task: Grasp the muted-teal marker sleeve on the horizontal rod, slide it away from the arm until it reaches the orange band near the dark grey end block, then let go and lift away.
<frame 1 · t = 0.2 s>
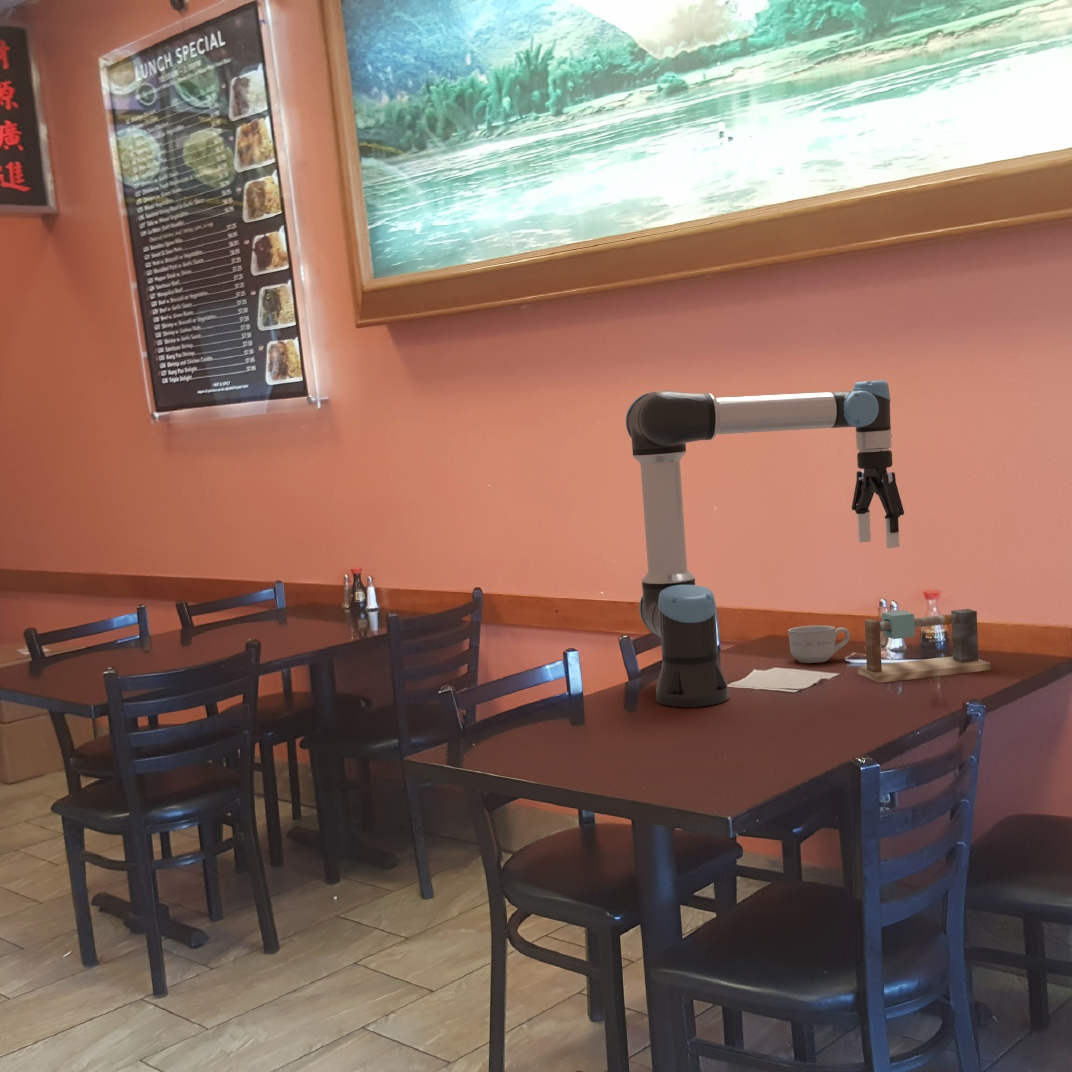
hand: (878, 544, 269), 27 cm above the table, fingers open, 13 cm apart
rod stand: (923, 671, 262), on the table
teacup: (820, 661, 280), on the table
sleeve: (898, 624, 260), point 11 cm above the table, slide at 0.0 cm
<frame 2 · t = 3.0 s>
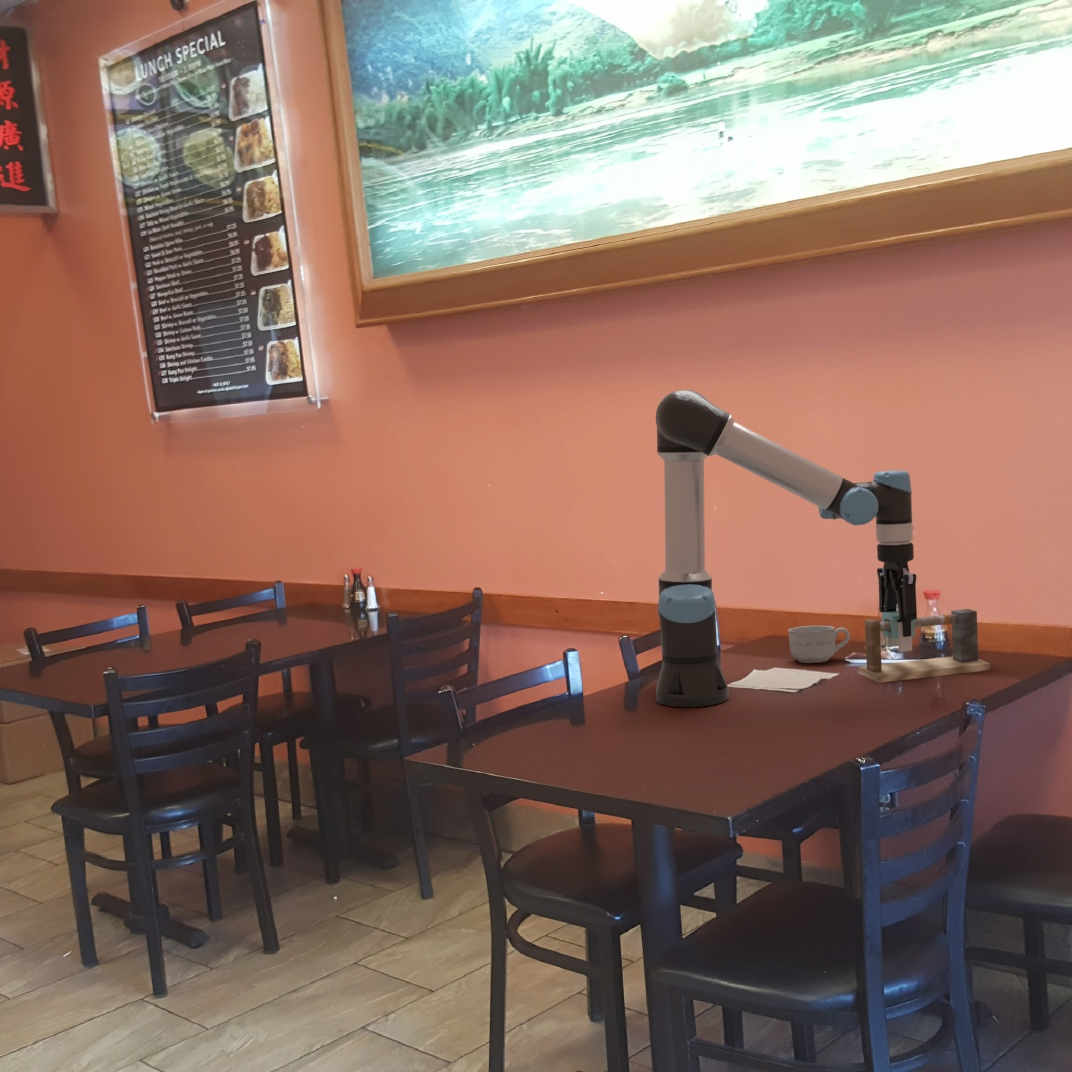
hand: (899, 648, 260), 6 cm above the table, fingers closed on sleeve, 5 cm apart
sleeve: (898, 624, 260), point 11 cm above the table, slide at 0.0 cm, touching gripper
everything else where it was.
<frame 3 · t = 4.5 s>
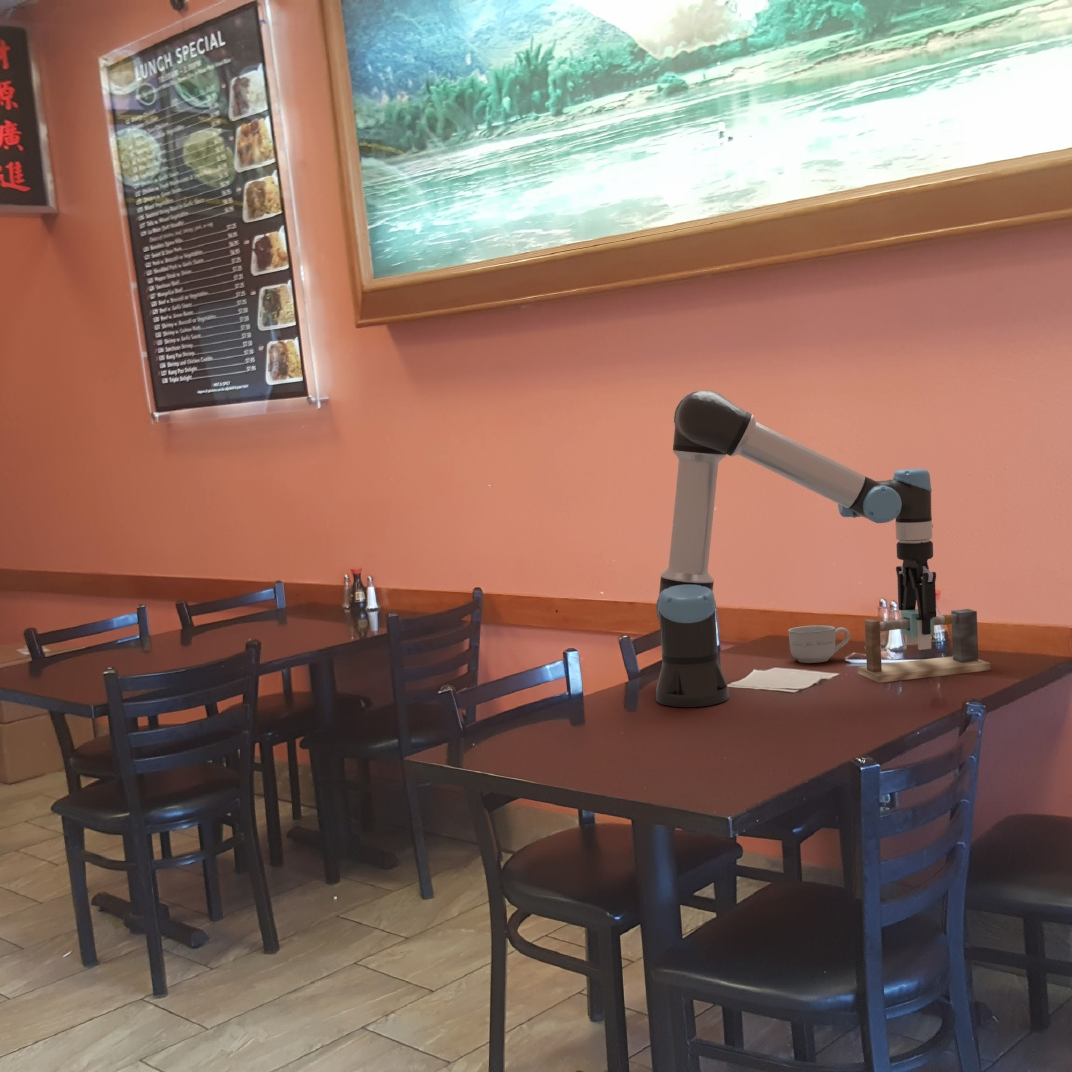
hand: (918, 646, 261), 6 cm above the table, fingers closed on sleeve, 5 cm apart
sleeve: (917, 622, 260), point 11 cm above the table, slide at 4.5 cm, touching gripper
everything else where it was.
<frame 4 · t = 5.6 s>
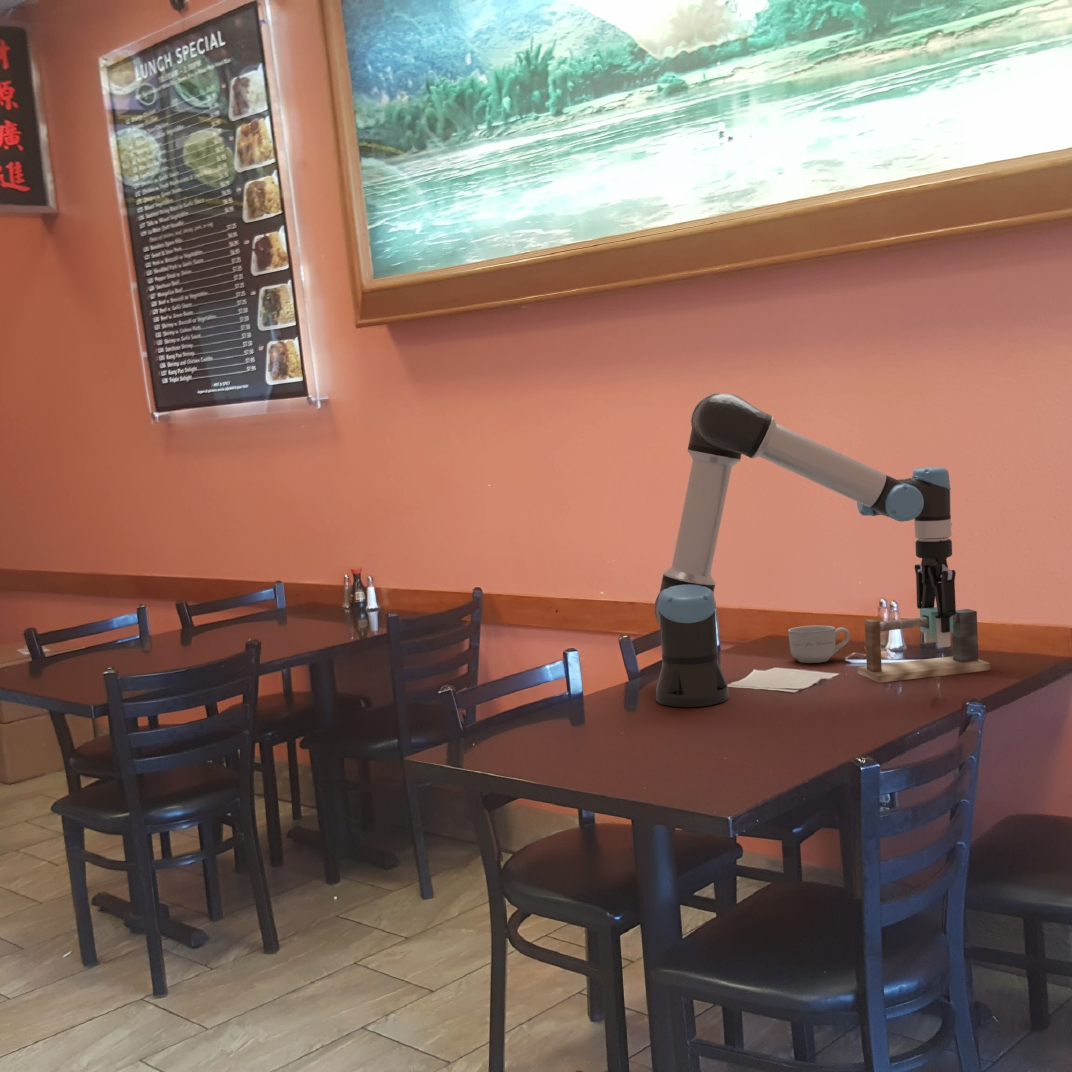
hand: (937, 644, 262), 6 cm above the table, fingers closed on sleeve, 5 cm apart
sleeve: (936, 620, 261), point 11 cm above the table, slide at 8.9 cm, touching gripper
everything else where it was.
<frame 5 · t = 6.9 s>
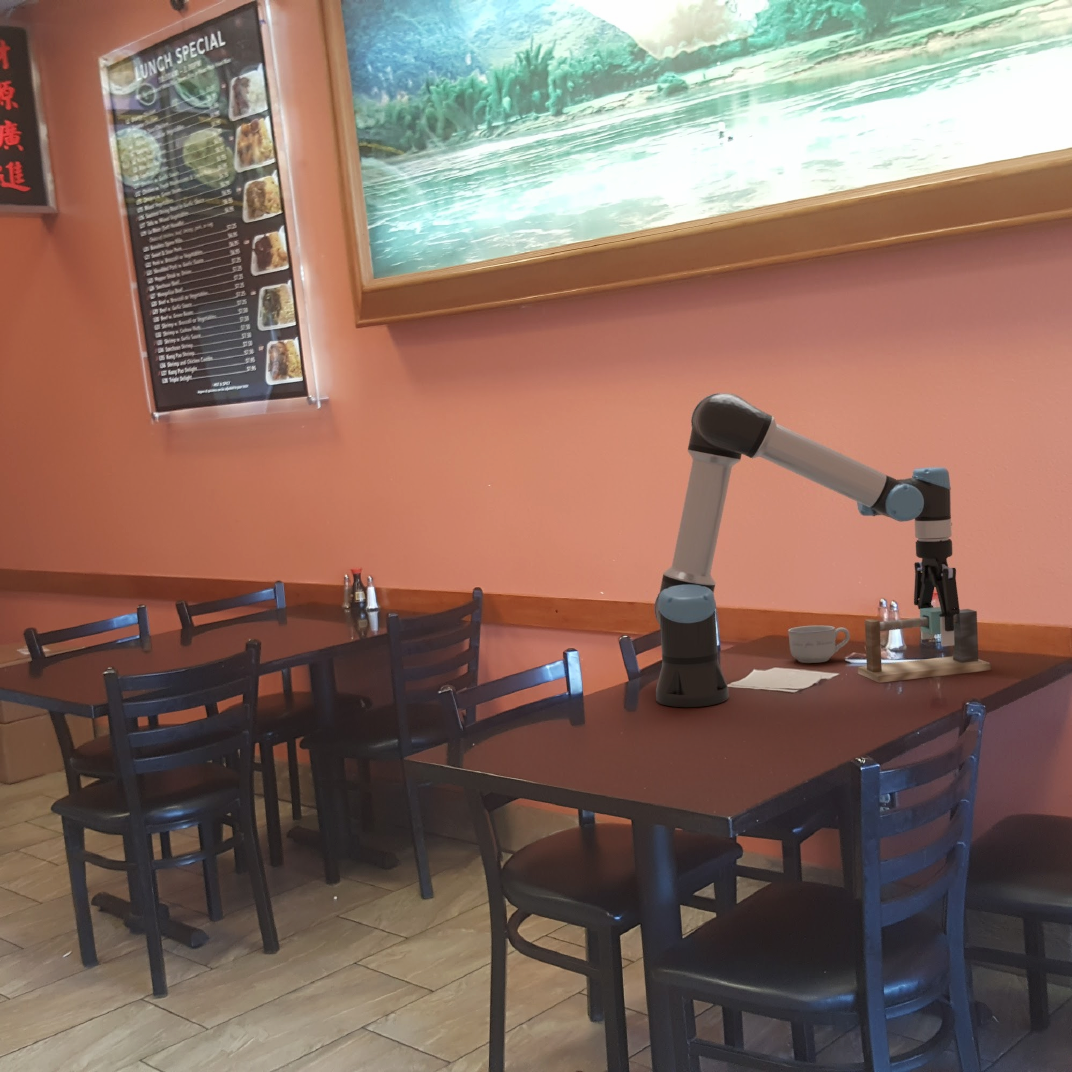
hand: (937, 642, 262), 6 cm above the table, fingers open, 8 cm apart
sleeve: (936, 620, 261), point 11 cm above the table, slide at 9.0 cm
everything else where it was.
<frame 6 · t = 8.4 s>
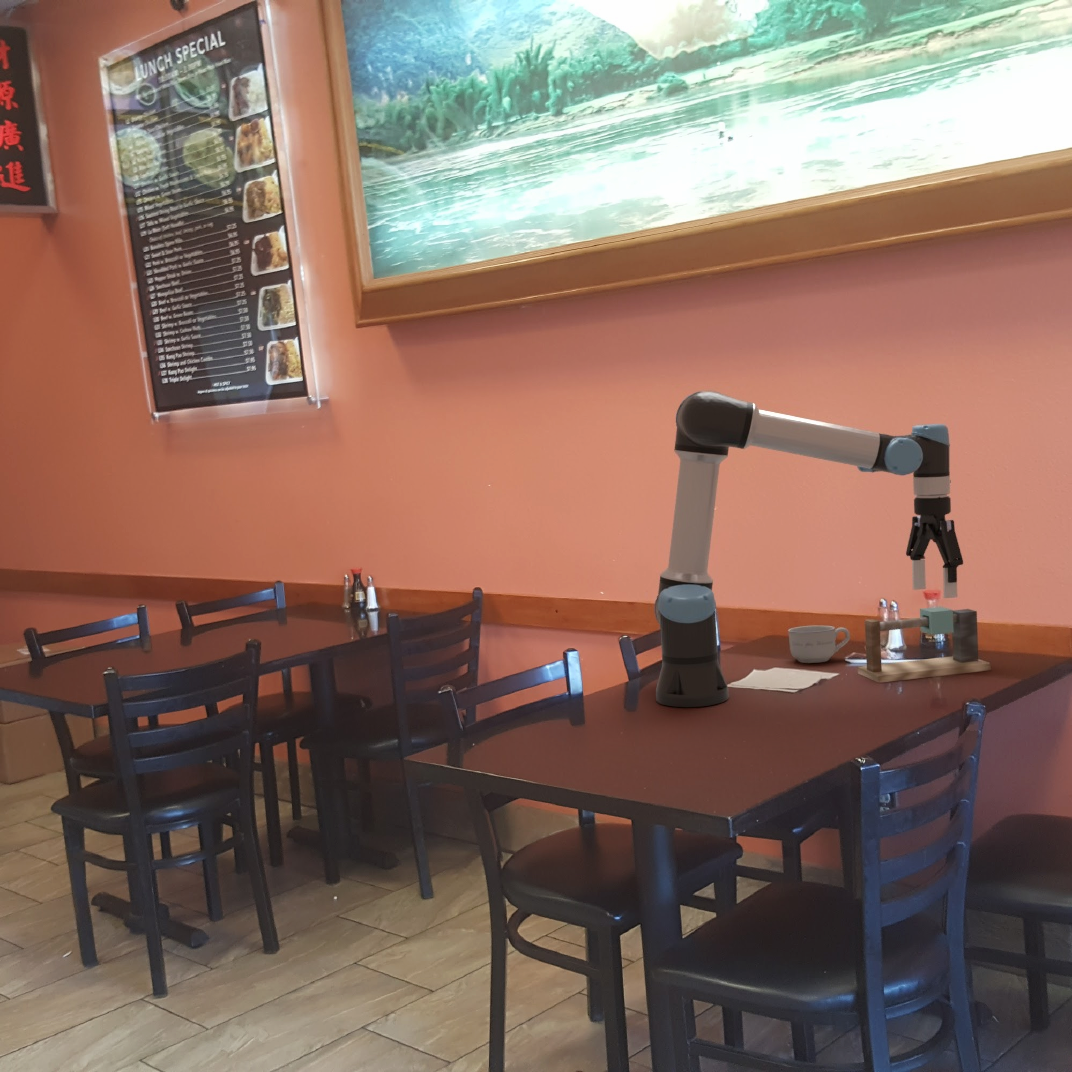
hand: (934, 593, 261), 17 cm above the table, fingers open, 13 cm apart
nothing on the table moved.
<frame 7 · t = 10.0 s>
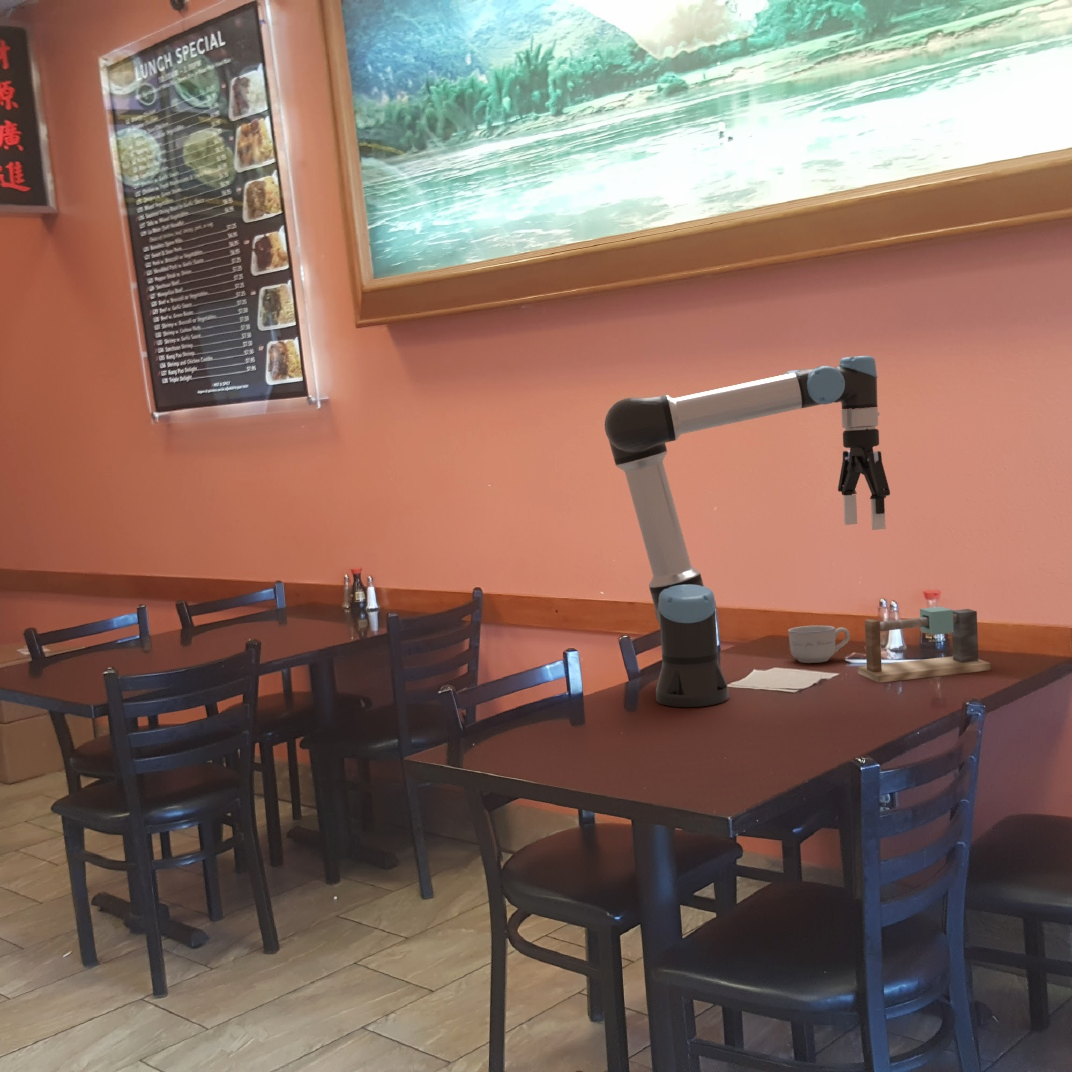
hand: (864, 526, 260), 33 cm above the table, fingers open, 13 cm apart
nothing on the table moved.
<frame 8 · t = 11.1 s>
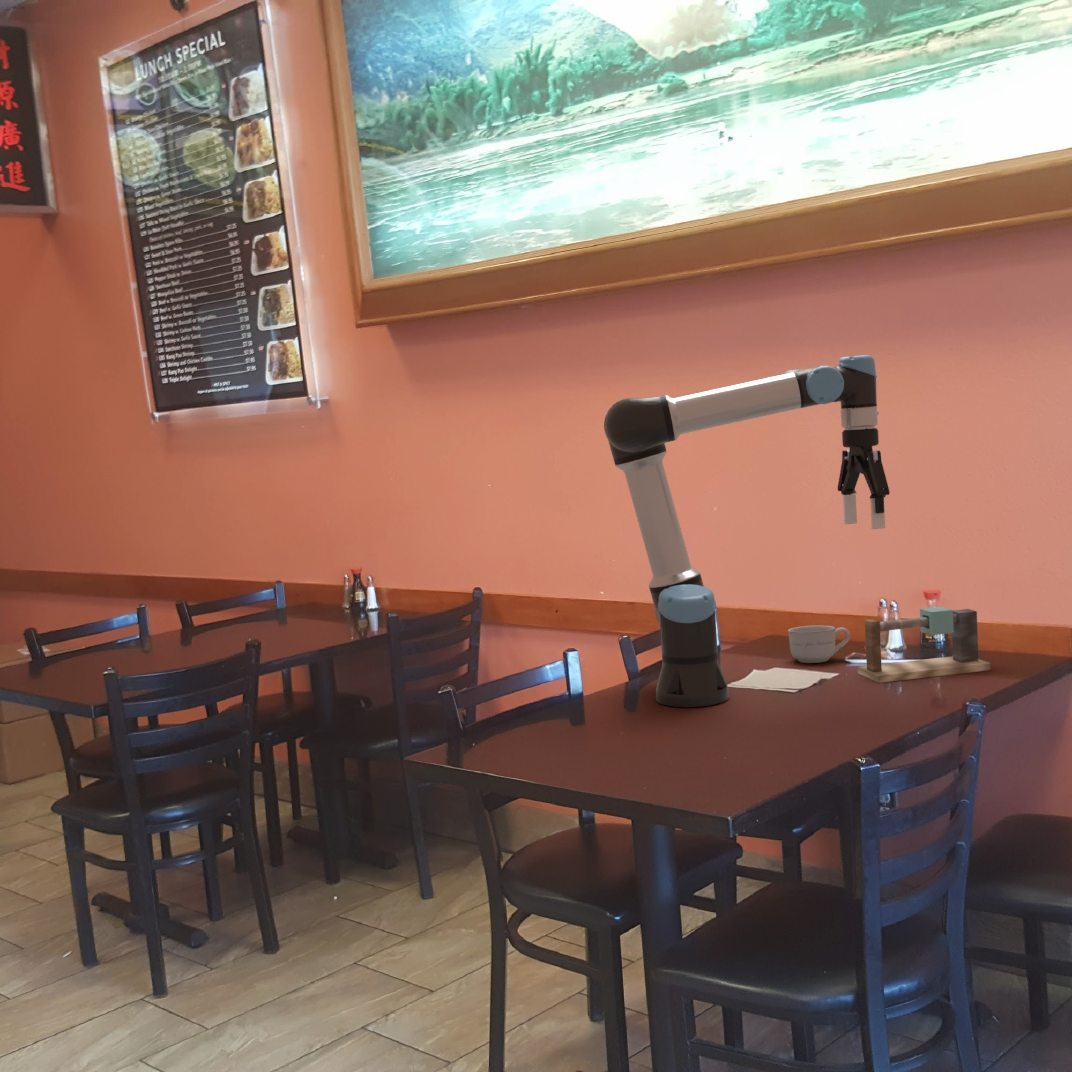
hand: (864, 526, 260), 33 cm above the table, fingers open, 13 cm apart
nothing on the table moved.
at the end: sleeve slide at 9.0 cm; the gripper is holding nothing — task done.
